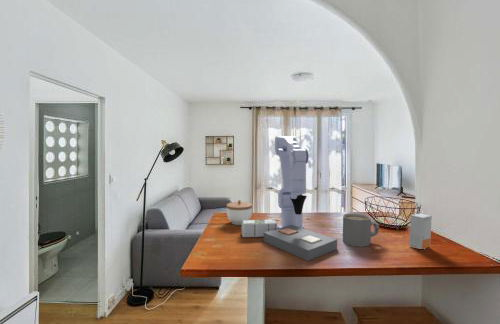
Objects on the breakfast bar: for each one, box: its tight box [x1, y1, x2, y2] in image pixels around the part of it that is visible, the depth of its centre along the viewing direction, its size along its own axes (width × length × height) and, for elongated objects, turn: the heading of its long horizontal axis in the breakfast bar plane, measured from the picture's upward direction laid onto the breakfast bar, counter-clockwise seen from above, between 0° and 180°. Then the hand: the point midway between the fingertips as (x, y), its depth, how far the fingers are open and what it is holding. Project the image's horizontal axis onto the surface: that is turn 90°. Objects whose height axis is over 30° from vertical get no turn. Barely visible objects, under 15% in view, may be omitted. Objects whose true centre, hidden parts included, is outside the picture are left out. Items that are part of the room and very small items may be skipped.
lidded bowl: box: [225, 199, 253, 226], centre depth 123 cm, size 13×13×11 cm
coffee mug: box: [342, 212, 380, 248], centre depth 97 cm, size 13×10×10 cm
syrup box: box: [241, 219, 278, 238], centre depth 106 cm, size 6×6×14 cm
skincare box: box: [409, 213, 432, 250], centre depth 92 cm, size 6×4×12 cm
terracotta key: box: [279, 228, 297, 236], centre depth 99 cm, size 5×5×4 cm
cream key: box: [301, 235, 321, 244], centre depth 91 cm, size 5×5×4 cm
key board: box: [263, 225, 338, 262], centre depth 95 cm, size 16×22×4 cm
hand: (298, 214), depth 100 cm, fingers closed
